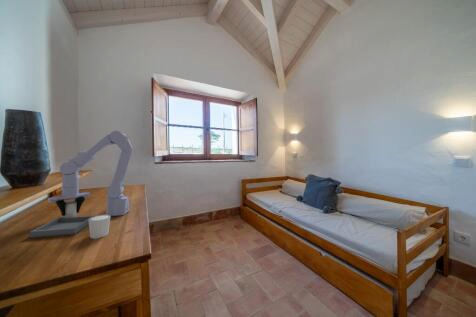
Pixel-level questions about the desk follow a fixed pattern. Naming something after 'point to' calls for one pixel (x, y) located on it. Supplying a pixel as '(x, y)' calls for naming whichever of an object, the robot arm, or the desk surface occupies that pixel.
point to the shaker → (71, 209)
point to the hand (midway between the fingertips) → (70, 213)
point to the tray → (61, 227)
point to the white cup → (99, 226)
